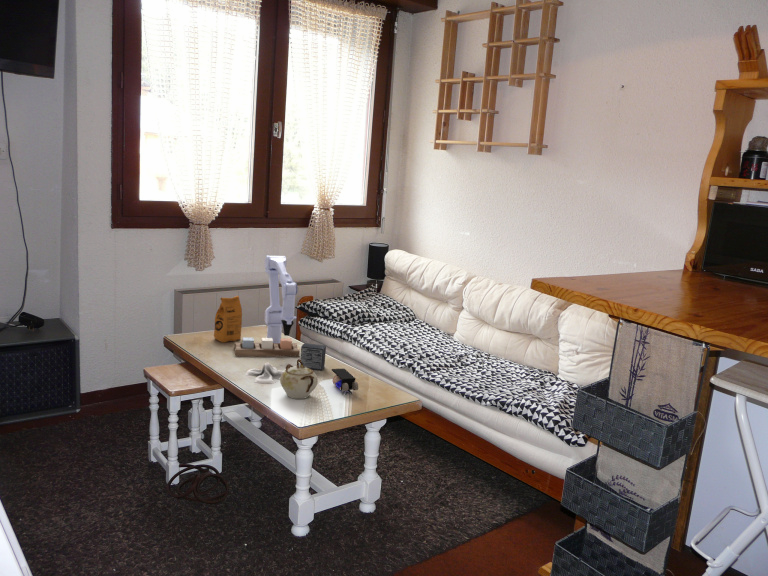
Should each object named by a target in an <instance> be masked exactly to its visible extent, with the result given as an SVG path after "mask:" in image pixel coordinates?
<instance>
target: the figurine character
mask: <svg viewBox="0 0 768 576" xmlns="http://www.w3.org/2000/svg"><path fill="white" fill-rule="evenodd" d="M331 372H333V373H334V374H335V375H334V376H333V378H332V383H333V385H334V386H336V388H338V389H339V390H340V391H342V393H343V394H344V395H345V396H347V393H349V392H350V393H351V394H350V393H349V394H350V395H353V391H358V389H359V384H358V382H357V381H356V380H357V379H356V377H355V376H354V375H352V374H351V373H350V372H349V371H348V370H347V369H345V368H331Z"/></svg>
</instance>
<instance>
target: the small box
mask: <svg viewBox="0 0 768 576" xmlns="http://www.w3.org/2000/svg"><path fill="white" fill-rule="evenodd" d="M326 348H327V345H323V344H314V343H306V342H304V343H303V344H302V345H301V348H300V349H301V350H300V360H301V362H302V363H303V366H304V367H307V368H309V369H311V370H313V371H321V372H322V371H323V370H324V368H325V365H326V353H327V352H326V350H327V349H326ZM299 366H301V364H300V363H299Z"/></svg>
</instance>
